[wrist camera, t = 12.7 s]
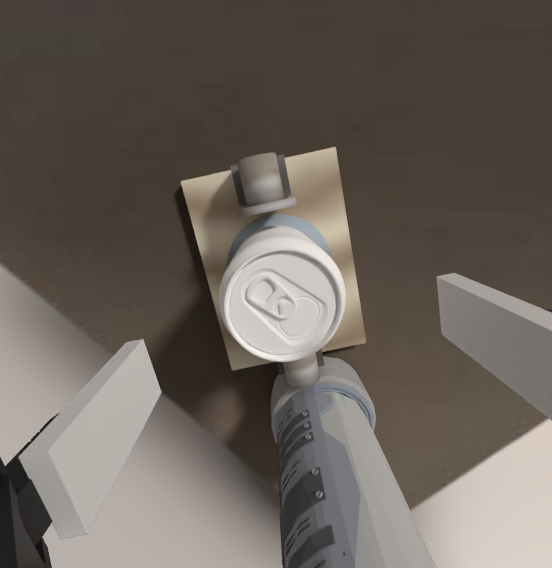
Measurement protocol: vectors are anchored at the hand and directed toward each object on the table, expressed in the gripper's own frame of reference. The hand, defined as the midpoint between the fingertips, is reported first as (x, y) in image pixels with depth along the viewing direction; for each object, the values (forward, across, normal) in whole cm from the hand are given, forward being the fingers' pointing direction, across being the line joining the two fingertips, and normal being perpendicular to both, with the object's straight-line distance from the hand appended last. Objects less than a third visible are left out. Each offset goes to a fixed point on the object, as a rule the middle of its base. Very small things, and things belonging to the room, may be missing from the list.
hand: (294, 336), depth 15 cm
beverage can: (+17, 0, -1) cm, 17 cm away
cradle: (+18, 0, -1) cm, 19 cm away
